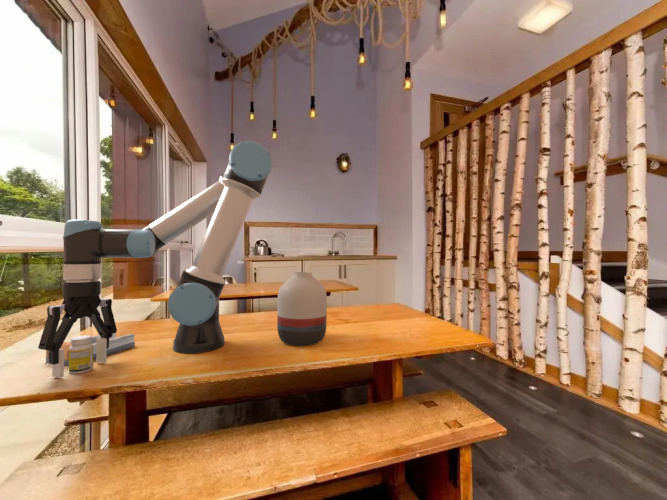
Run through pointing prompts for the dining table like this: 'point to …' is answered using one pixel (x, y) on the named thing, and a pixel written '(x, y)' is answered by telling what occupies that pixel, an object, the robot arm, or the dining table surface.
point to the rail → (114, 345)
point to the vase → (302, 310)
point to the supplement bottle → (80, 354)
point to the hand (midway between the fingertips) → (80, 368)
